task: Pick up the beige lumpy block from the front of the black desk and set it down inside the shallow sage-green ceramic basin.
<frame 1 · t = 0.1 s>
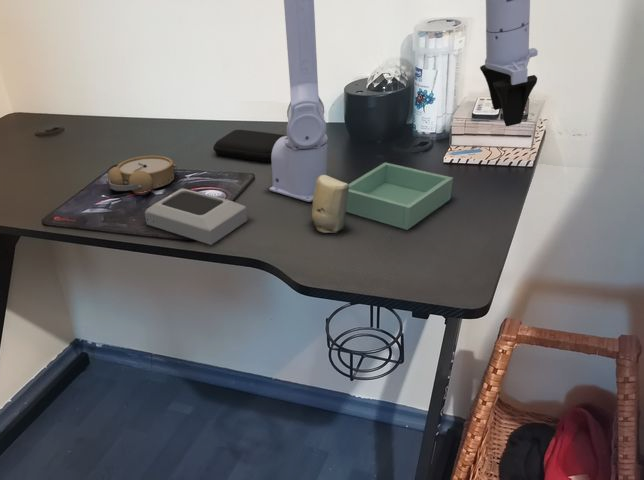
hand: (506, 115, 101), 11 cm above the table, tool pointing down, fingers open, 7 cm apart
carrying case: (253, 152, 131), on the table
grey box with screen: (196, 223, 109), on the table
basin: (394, 204, 105), on the table
beige lumpy block: (330, 228, 102), on the table
alarm clock: (142, 186, 125), on the table
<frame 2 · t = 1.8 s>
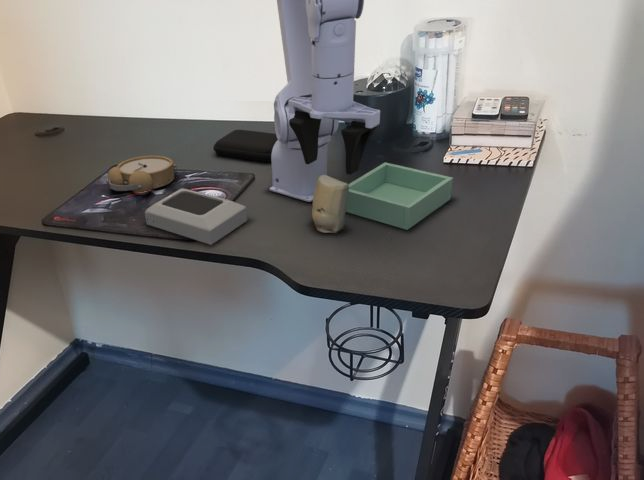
hand: (331, 166, 95), 10 cm above the table, tool pointing down, fingers open, 7 cm apart
nothing on the table moved.
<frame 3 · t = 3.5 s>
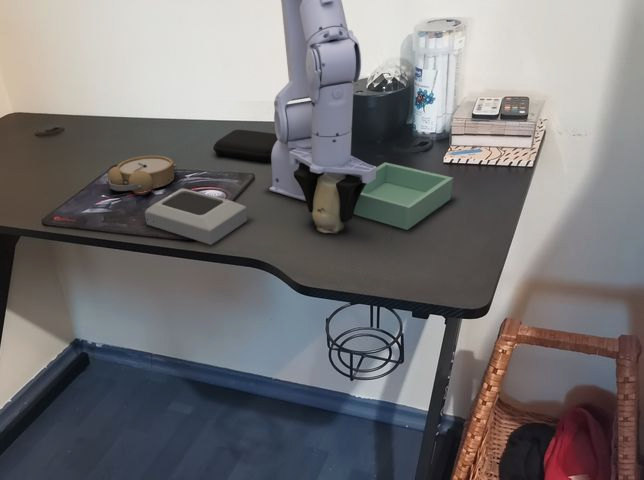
hand: (329, 214, 100), 2 cm above the table, tool pointing down, fingers closed on beige lumpy block, 6 cm apart
beige lumpy block: (330, 228, 102), on the table, touching gripper
everything else where it was.
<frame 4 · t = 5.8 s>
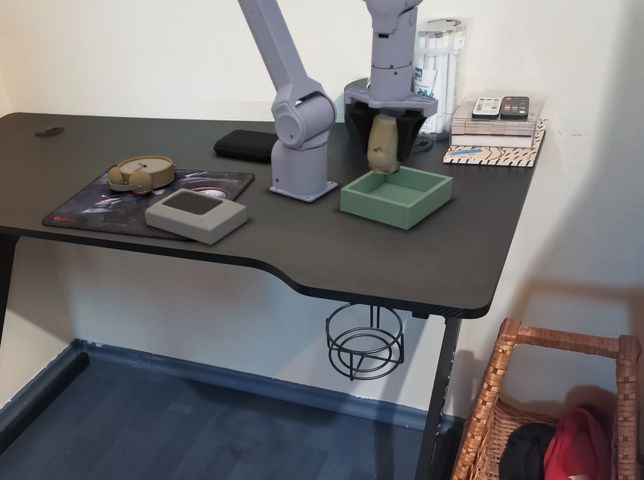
hand: (385, 155, 98), 9 cm above the table, tool pointing down, fingers closed on beige lumpy block, 6 cm apart
beige lumpy block: (385, 170, 100), point 7 cm above the table, touching gripper
everything else where it was.
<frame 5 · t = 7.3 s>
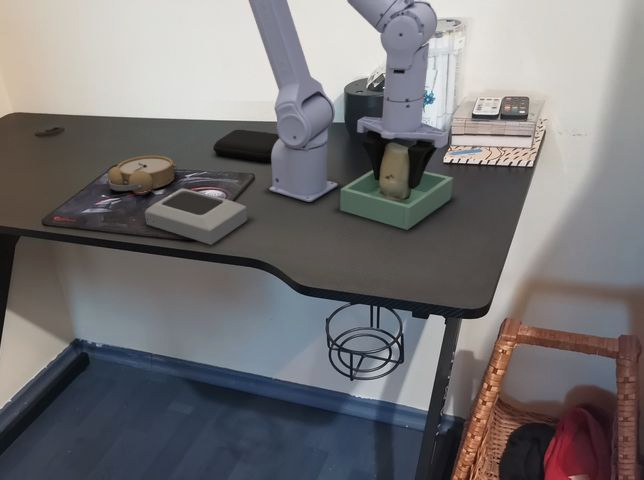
hand: (396, 182, 102), 4 cm above the table, tool pointing down, fingers closed on beige lumpy block, 6 cm apart
beige lumpy block: (396, 196, 103), point 2 cm above the table, touching gripper
everything else where it was.
when the fingers open (3 cm above the table, at t = 8.3 s): beige lumpy block stays where it is, resting on basin.
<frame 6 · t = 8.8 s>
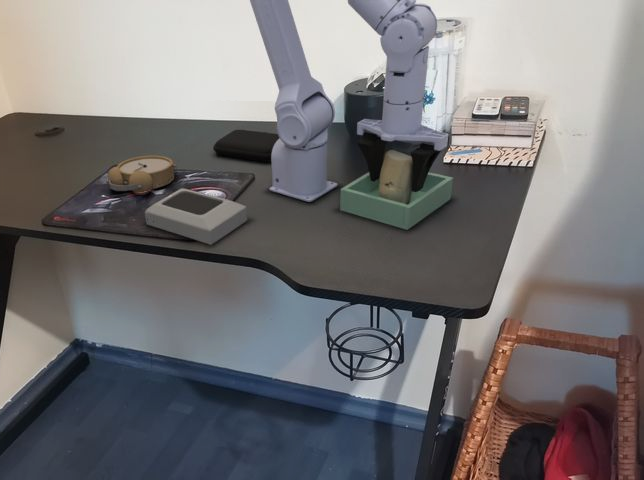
hand: (396, 184, 102), 4 cm above the table, tool pointing down, fingers open, 7 cm apart
beige lumpy block: (395, 202, 104), resting on basin
everything else where it was.
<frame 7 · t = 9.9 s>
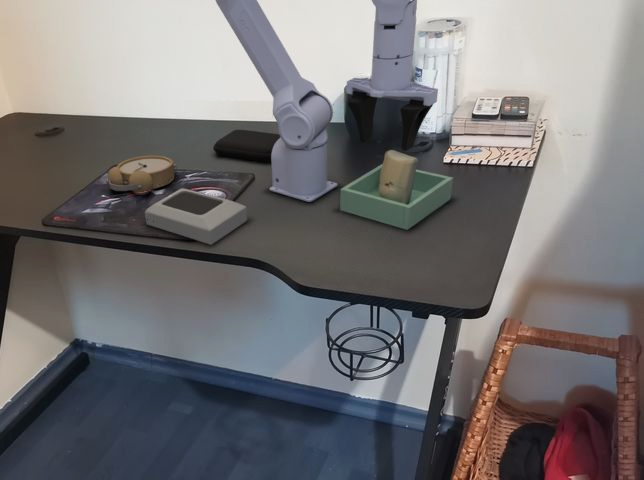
hand: (386, 144, 101), 9 cm above the table, tool pointing down, fingers open, 7 cm apart
nothing on the table moved.
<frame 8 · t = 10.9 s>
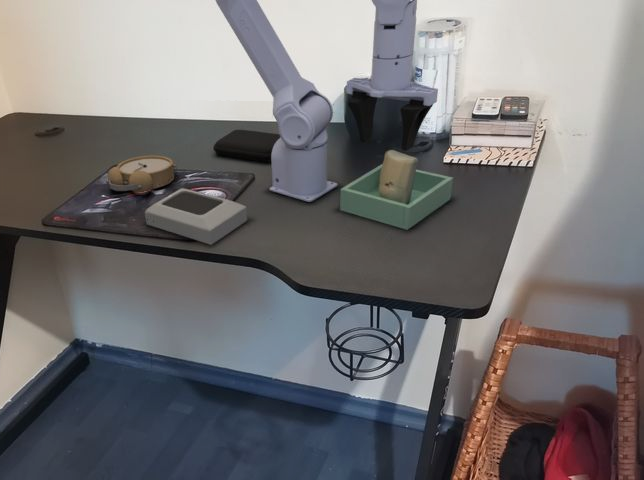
hand: (386, 144, 101), 9 cm above the table, tool pointing down, fingers open, 7 cm apart
nothing on the table moved.
at the end: beige lumpy block inside the target area in the basin (0.2 cm from its centre), point 0.4 cm above the basin's base; the gripper is holding nothing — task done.
